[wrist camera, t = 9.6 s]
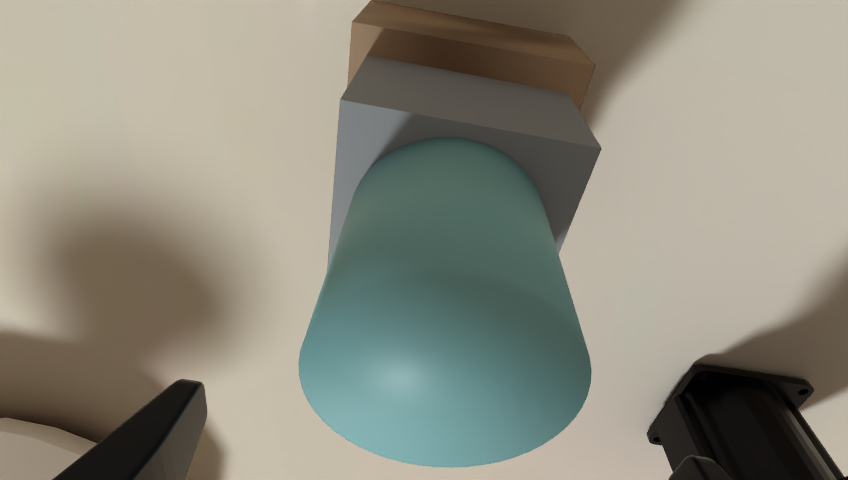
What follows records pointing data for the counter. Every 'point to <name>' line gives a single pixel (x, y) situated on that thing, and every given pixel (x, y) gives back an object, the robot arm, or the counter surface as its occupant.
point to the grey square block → (462, 130)
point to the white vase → (37, 450)
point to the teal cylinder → (445, 313)
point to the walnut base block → (470, 48)
